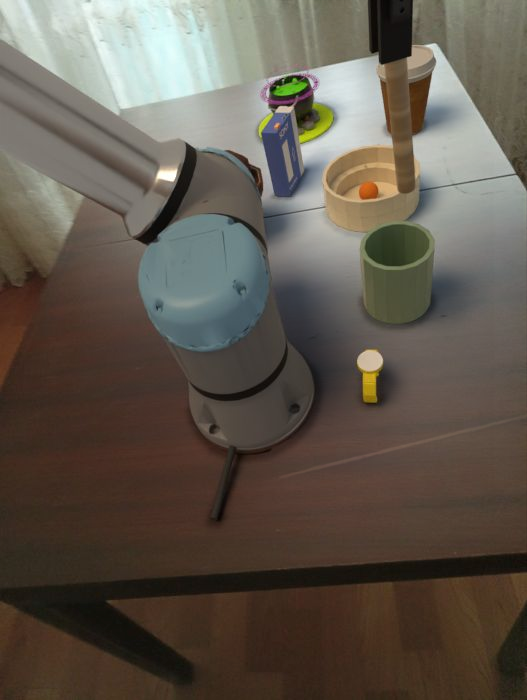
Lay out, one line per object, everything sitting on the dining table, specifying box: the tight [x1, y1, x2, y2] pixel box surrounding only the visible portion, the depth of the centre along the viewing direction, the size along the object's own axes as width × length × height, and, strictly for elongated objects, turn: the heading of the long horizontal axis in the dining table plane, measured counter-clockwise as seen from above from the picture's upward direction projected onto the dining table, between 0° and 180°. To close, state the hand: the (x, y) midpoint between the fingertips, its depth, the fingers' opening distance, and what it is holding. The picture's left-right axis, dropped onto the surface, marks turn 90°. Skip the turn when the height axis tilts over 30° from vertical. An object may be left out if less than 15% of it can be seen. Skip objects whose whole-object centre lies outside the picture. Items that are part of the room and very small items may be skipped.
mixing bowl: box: [321, 144, 421, 233], centre depth 76 cm, size 14×14×6 cm
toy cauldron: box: [258, 60, 334, 145], centre depth 95 cm, size 15×15×11 cm
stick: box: [384, 58, 416, 194], centre depth 46 cm, size 2×2×26 cm
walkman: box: [261, 106, 305, 198], centre depth 82 cm, size 8×3×12 cm, turn 157°
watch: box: [356, 349, 384, 404], centre depth 56 cm, size 6×3×6 cm, turn 170°
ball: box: [359, 182, 378, 200], centre depth 78 cm, size 3×3×3 cm
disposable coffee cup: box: [375, 44, 437, 136], centre depth 85 cm, size 10×10×12 cm
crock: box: [359, 220, 436, 325], centre depth 62 cm, size 8×8×10 cm
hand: (390, 52), depth 44 cm, fingers closed on stick, 2 cm apart
